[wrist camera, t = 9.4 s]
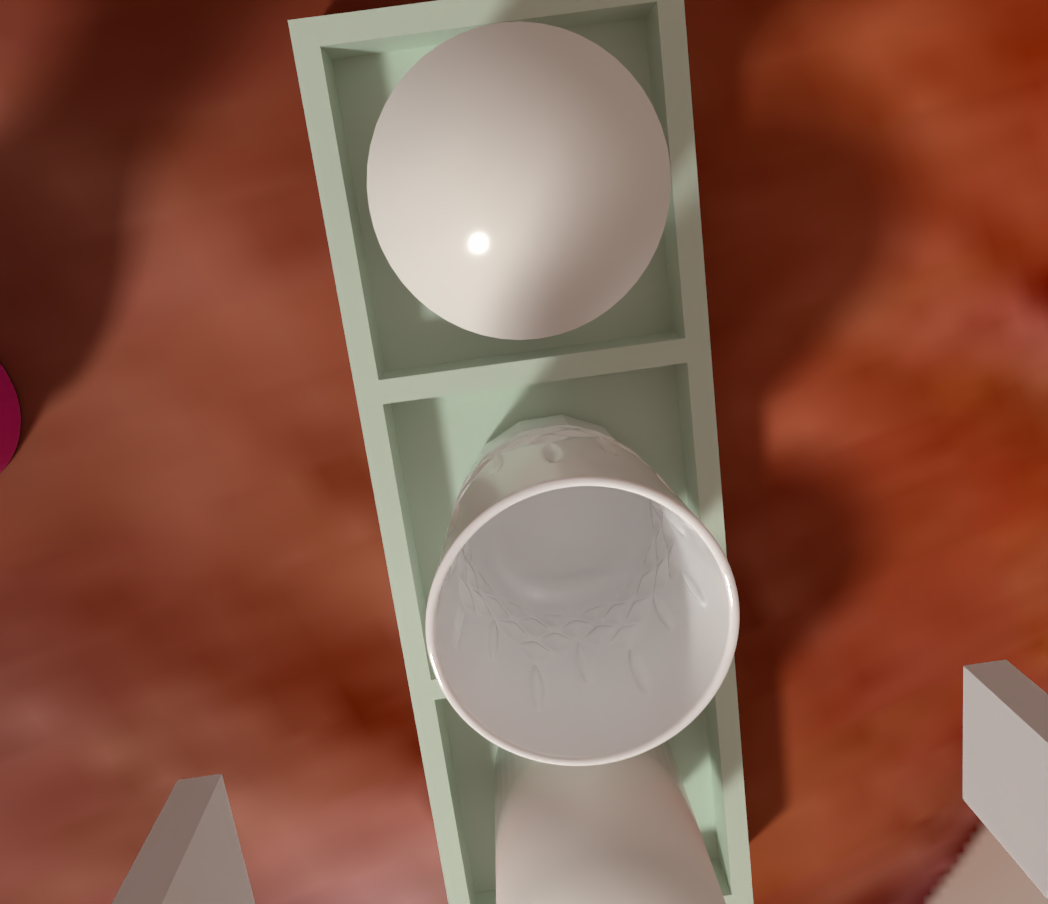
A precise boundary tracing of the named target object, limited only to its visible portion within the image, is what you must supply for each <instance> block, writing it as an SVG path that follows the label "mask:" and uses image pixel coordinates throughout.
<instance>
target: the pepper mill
mask: <svg viewBox="0 0 1048 904" xmlns="http://www.w3.org/2000/svg"><path fill="white" fill-rule="evenodd" d="M20 428H21V413H20V406H19V402H18V398H17V393H16V391H15V389H14V387H13V384H12V382H11V380H10V378H9V377H8V375H7V373H6V371H5V369H4V368H3V367H2V365H1V364H0V473H1V472H2V471H3V470H4V468H5V467H6V466H7V464H8V463H9V462H10V460H11V458H12V456H13V454H14V452H15V450H16V447H17V444H18V440H19V436H20Z"/></svg>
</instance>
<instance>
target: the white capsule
mask: <svg viewBox="0 0 1048 904" xmlns="http://www.w3.org/2000/svg"><path fill="white" fill-rule="evenodd" d="M494 793H495V864H496V904H726V903H725V900H724V897H723V894H722V891H721V889H720V886H719V883H718V880H717V877H716V875H715V872H714V869H713V866H712V863H711V861H710V858H709V855H708V852H707V849H706V847H705V844H704V841H703V838H702V835H701V832H700V830H699V827H698V824H697V821H696V818H695V816H694V813H693V810H692V807H691V804H690V802H689V799H688V796H687V793H686V790H685V788H684V785H683V782H682V779H681V776H680V774H679V771H678V768H677V765H676V762H675V760H674V757H673V754H672V751H671V748H670V746H669V743H668V740H667V741H665V742H664V743H662V744H660V745H658V746H657V747H655V748H653V749H651V750H648V751H646V752H644V753H641V754H639V755H636V756H634V757H631V758H627V759H624V760H620V761H616V762H612V763H607V764H600V765H592V766H562V765H553V764H547V763H542V762H538V761H534V760H530V759H527V758H524V757H521V756H518V755H516V754H513V753H511V752H509V751H506V750H504V749H502V748H501V747H498V749H497V753H496V758H495V766H494Z"/></svg>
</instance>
